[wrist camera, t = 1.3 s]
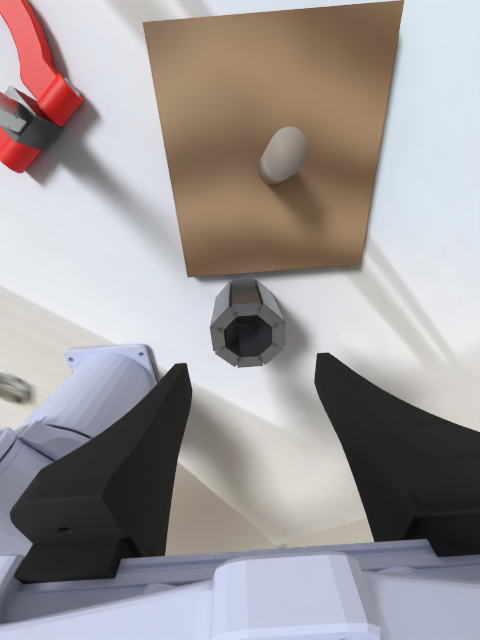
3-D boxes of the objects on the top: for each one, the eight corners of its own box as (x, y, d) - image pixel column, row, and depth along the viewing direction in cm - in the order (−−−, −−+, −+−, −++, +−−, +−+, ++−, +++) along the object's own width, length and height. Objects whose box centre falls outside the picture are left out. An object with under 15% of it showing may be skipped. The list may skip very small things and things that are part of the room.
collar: (272, 329, 22) (284, 364, 17) (219, 333, 22) (216, 369, 17) (272, 277, 20) (285, 300, 15) (213, 281, 20) (206, 306, 15)
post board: (353, 261, 19) (396, 280, 14) (190, 273, 19) (174, 296, 14) (390, 17, 13) (490, -106, 8) (149, 37, 13) (96, -72, 8)
